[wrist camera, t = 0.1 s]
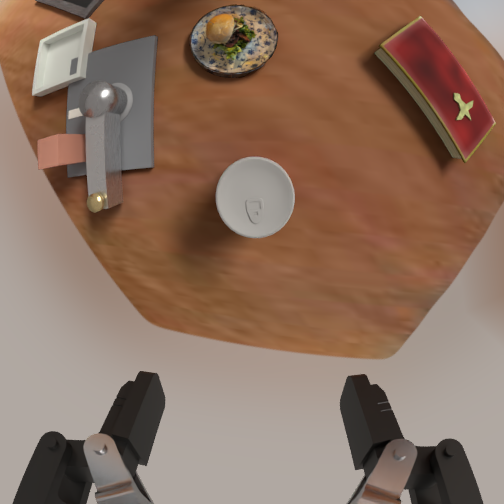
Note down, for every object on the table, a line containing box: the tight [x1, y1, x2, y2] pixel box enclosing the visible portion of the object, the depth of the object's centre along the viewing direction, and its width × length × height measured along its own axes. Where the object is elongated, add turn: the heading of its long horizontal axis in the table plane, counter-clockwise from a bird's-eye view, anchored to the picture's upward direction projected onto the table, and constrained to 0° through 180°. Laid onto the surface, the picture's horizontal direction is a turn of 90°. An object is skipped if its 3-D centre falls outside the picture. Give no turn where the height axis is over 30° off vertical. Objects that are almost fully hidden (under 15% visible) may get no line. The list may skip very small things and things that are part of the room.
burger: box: [190, 4, 278, 78], centre depth 26 cm, size 12×12×8 cm
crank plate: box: [66, 35, 158, 178], centre depth 32 cm, size 20×15×1 cm
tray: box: [32, 18, 97, 97], centre depth 27 cm, size 11×11×3 cm
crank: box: [78, 80, 127, 212], centre depth 30 cm, size 17×5×6 cm, turn 0°
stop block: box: [38, 134, 86, 170], centre depth 30 cm, size 4×4×8 cm
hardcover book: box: [374, 16, 496, 163], centre depth 28 cm, size 12×21×4 cm, turn 45°
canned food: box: [216, 156, 295, 238], centre depth 31 cm, size 8×8×11 cm
